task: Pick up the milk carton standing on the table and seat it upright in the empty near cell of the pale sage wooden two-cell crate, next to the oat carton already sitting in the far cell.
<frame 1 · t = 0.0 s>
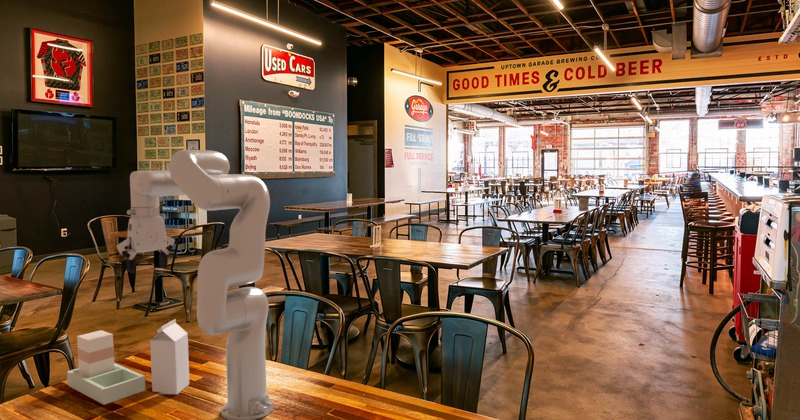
hand: (148, 269, 160), 31 cm above the table, tool pointing down, fingers open, 9 cm apart
crate: (106, 390, 149), on the table
milk carton: (171, 390, 149), on the table
oat carton: (97, 383, 152), point 1 cm above the table, touching crate
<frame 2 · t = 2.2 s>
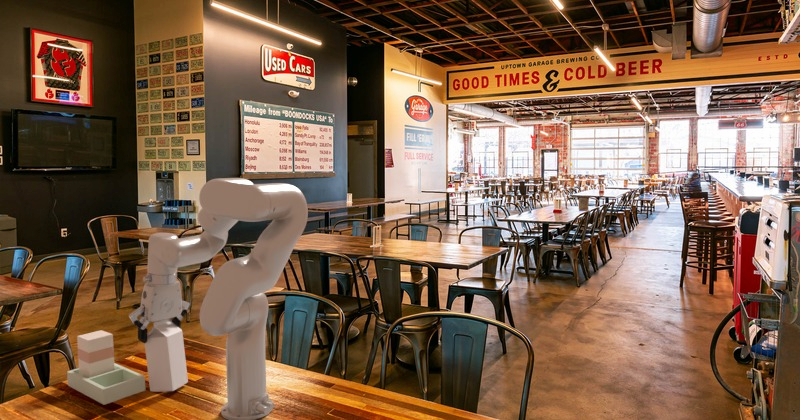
hand: (159, 337, 150), 14 cm above the table, tool pointing down, fingers open, 9 cm apart
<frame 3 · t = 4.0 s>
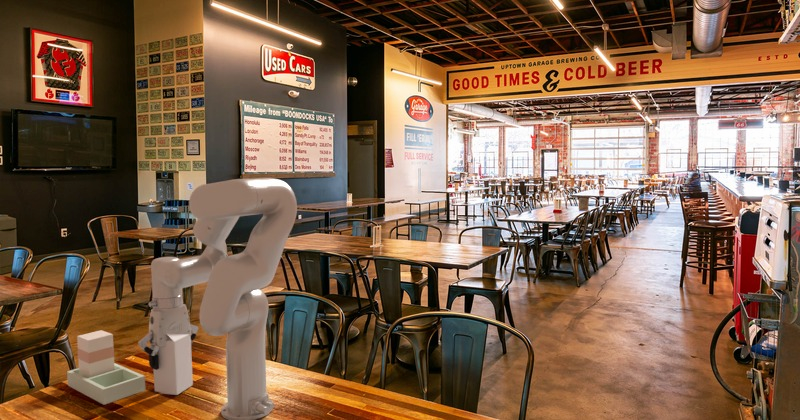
hand: (170, 363, 149), 8 cm above the table, tool pointing down, fingers closed on milk carton, 9 cm apart
milk carton: (174, 390, 149), on the table, touching gripper
everything else where it was.
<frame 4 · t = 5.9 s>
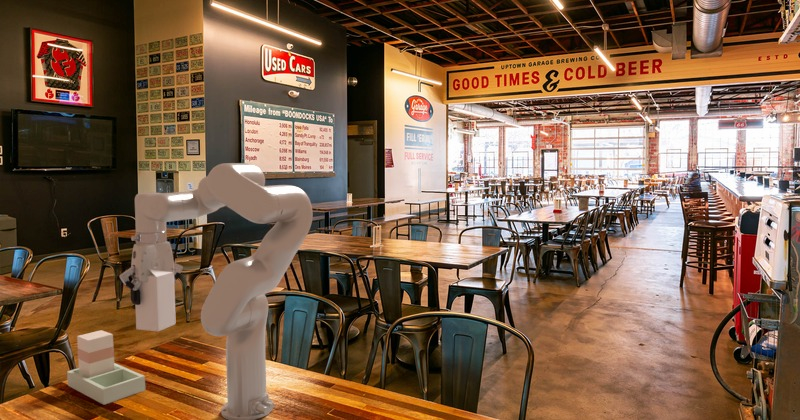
hand: (153, 300, 146), 25 cm above the table, tool pointing down, fingers closed on milk carton, 9 cm apart
milk carton: (156, 327, 147), point 18 cm above the table, touching gripper
everything else where it was.
when the fingers open (12 cm above the table, at t = 9.1 s): milk carton stays where it is, resting on crate, oat carton.
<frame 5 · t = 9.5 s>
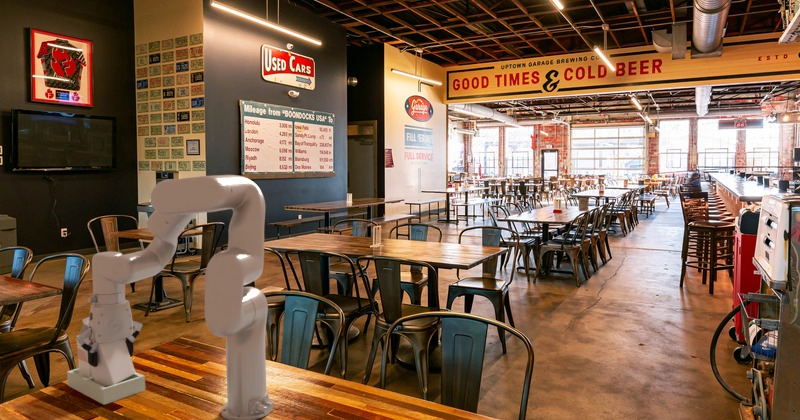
hand: (111, 360, 145), 10 cm above the table, tool pointing down, fingers open, 8 cm apart
milk carton: (116, 381, 146), point 4 cm above the table, touching crate, gripper, oat carton
oat carton: (97, 383, 152), point 1 cm above the table, touching crate, milk carton
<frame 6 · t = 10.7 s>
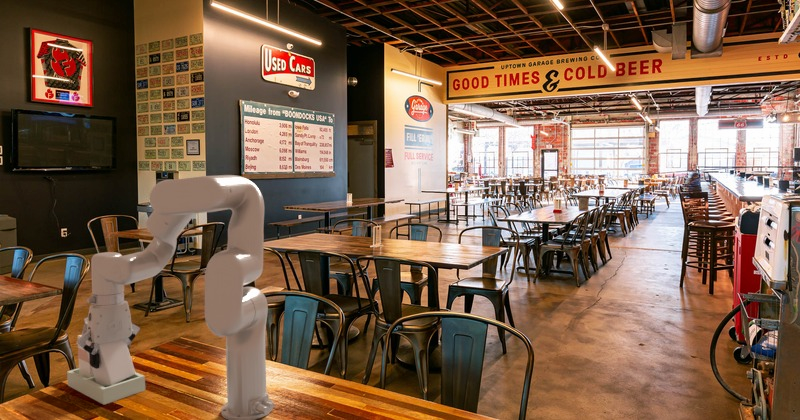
hand: (110, 362, 145), 9 cm above the table, tool pointing down, fingers closed on milk carton, 7 cm apart
milk carton: (117, 381, 146), point 4 cm above the table, touching gripper
oat carton: (97, 383, 152), point 1 cm above the table, touching crate
when the fingers open (9 cm above the table, at t = 10.7 s): milk carton drops 3 cm, resting on crate.
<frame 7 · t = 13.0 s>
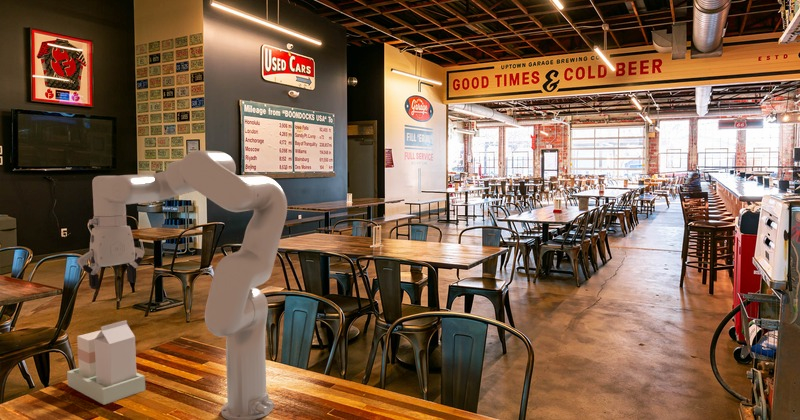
hand: (113, 285, 144), 30 cm above the table, tool pointing down, fingers open, 9 cm apart
milk carton: (117, 392, 146), point 1 cm above the table, touching crate
everything else where it was.
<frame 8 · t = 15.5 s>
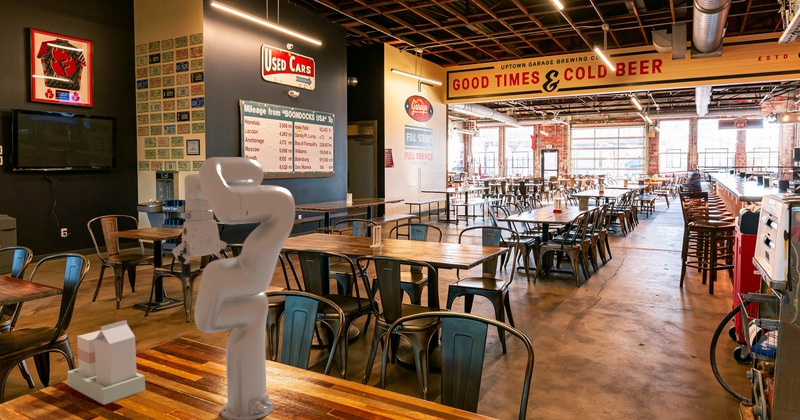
hand: (201, 274, 158), 30 cm above the table, tool pointing down, fingers open, 9 cm apart
nothing on the table moved.
at the end: milk carton 0.5 cm from the target spot on the crate, point 0.6 cm above the crate's base; milk carton tilted 0°; the gripper is holding nothing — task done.
